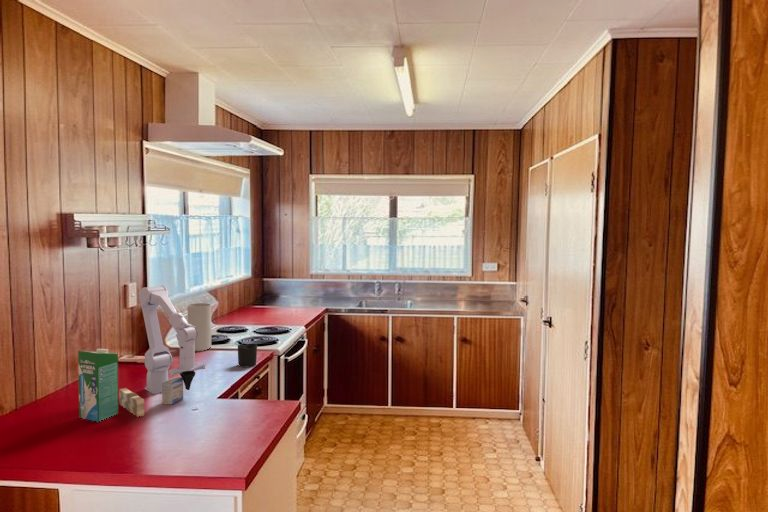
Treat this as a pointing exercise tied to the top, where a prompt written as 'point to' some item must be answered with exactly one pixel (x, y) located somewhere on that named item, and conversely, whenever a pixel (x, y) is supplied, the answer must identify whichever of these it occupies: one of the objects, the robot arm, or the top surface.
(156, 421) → the top surface
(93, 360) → the milk carton
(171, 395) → the medicine box
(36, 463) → the top surface
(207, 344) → the cylinder vase
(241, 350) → the pen holder
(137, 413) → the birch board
